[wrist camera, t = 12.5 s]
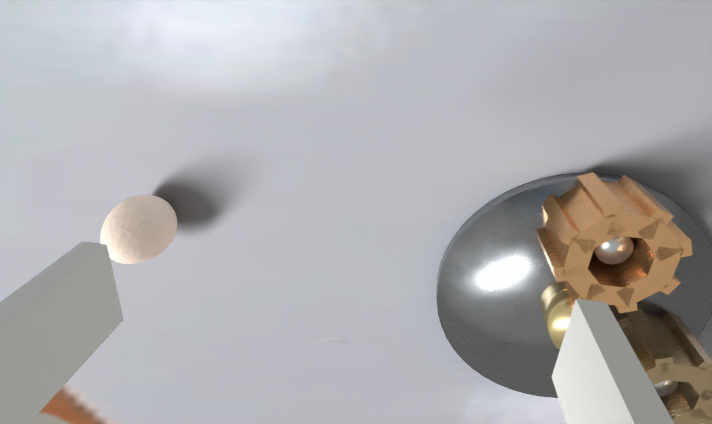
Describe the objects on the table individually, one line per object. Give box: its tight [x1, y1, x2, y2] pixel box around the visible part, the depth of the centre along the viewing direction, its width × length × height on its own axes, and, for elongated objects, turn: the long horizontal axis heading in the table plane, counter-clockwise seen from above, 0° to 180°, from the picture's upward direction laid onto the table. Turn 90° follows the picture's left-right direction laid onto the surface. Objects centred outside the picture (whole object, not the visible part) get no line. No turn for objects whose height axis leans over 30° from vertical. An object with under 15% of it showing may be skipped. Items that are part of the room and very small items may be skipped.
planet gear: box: [536, 172, 692, 313], centre depth 35 cm, size 8×8×6 cm
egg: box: [100, 195, 177, 264], centre depth 41 cm, size 6×6×8 cm
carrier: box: [437, 173, 712, 424], centre depth 39 cm, size 23×23×8 cm
